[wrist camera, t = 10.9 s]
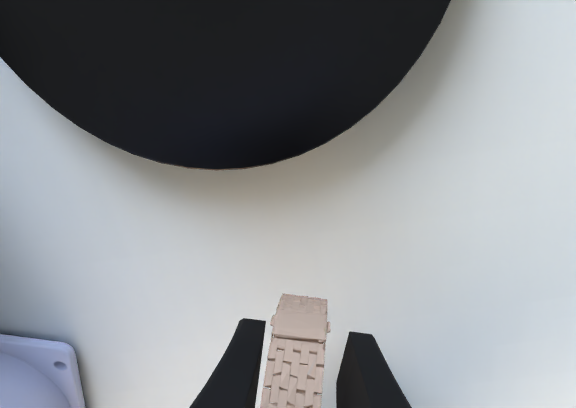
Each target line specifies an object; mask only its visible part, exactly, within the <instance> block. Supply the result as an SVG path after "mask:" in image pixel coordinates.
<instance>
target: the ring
mask: <svg viewBox="0 0 576 408" xmlns="http://www.w3.org/2000/svg"><path fill="white" fill-rule="evenodd" d="M314 299H315V300H314ZM270 325H271V326H273V329H272V336H271V343H270V346H269V352H268V360H269V361H267V364H266V371H265V378H264V384H263V386H265V387H269V388H271V389H267V388H263V390H262V398H261V405H260V408H309V407H310V408H321V398H322V395H317V393H319V394H322V386H323V374H324V359H325V342H326V333H328V332H330V322H327V300H326V299H321V298H316V297H315V298H314V297H308V296H296V295H290V294H283V295H282V296H281V298H280V301H279V304H278V307H277V310H276V315H273V316H272V319H271V322H270ZM273 334H274V338H273ZM323 343H324V345H323ZM277 349H279V350H282V351H277ZM273 374H276V375H273ZM270 402H273V403H270Z"/></svg>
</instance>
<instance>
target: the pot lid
mask: <svg viewBox="0 0 576 408" xmlns="http://www.w3.org/2000/svg"><path fill="white" fill-rule="evenodd" d="M450 1H451V0H0V57H1V58H2V59H3V60H4V61H5V63H6V64H7V65H8V66H9V67H10V68H11V69H12V70H13V71H14V72H15V73H16V74H17V75H18V76H19V77H20V79H21V80H22V81H23V82H24V83H25V84H26V85H27V86H28V87H29V88H31V89H32V90H33V91H34V92H35V93H36V94H37V95H39V96H40V97H41V98H42V99H43V100H44V101H45V102H47V103H48V104H49V105H50V106H51V107H52V108H54V109H55V110H56V111H58V112H59V113H61V114H62V115H63V116H65V117H66V118H67V119H69V120H70V121H72V122H73V123H74V124H76V125H77V126H79V127H80V128H82V129H84V130H86V131H87V132H89V133H91V134H92V135H94V136H96V137H98V138H99V139H101V140H103V141H105V142H107V143H109V144H111V145H113V146H116V147H118V148H120V149H122V150H125V151H127V152H129V153H131V154H134V155H137V156H140V157H143V158H147V159H150V160H153V161H156V162H159V163H164V164H169V165H174V166H179V167H184V168H191V169H205V170H232V169H246V168H252V167H258V166H263V165H269V164H273V163H277V162H280V161H283V160H286V159H289V158H293V157H296V156H299V155H301V154H303V153H305V152H308V151H310V150H312V149H314V148H316V147H319V146H321V145H323V144H325V143H327V142H328V141H330V140H332V139H333V138H335V137H336V136H338V135H340V134H341V133H343V132H345V131H346V130H348V129H349V128H351V127H352V126H353V125H355V124H356V123H357V122H358V121H360V120H361V119H362V118H363V117H365V116H366V115H367V114H368V113H370V112H371V111H372V110H373V109H375V108H376V107H377V106H378V105H379V104H380V103H381V102H382V101H383V100H384V99H385V98H386V97H387V96H388V94H389V93H390V92H391V91H392V90H393V89H394V88H395V87H396V86H397V85H398V84H399V83H400V82H401V80H402V79H403V78H404V77H405V75H406V74H407V73H408V71H409V70H410V69H411V68H412V66H413V65H414V64H415V62H416V61H417V60H418V58H419V57H420V56H421V54H422V53H423V51H424V49H425V48H426V46H427V44H428V43H429V41H430V39H431V38H432V36H433V34H434V33H435V31H436V29H437V28H438V26H439V25H440V23H441V21H442V18H443V16H444V14H445V12H446V10H447V8H448V6H449V3H450Z"/></svg>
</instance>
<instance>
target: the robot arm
mask: <svg viewBox="0 0 576 408" xmlns="http://www.w3.org/2000/svg"><path fill="white" fill-rule="evenodd" d="M265 324H266V321H261V320H253V319H245V318H243V319H242V320H240V321H239V323H238V326H237V329H236V331H235V333H234V336H233V338H232V340H231V342H230V344H229V346H228V348H227V349H226V351H225V353H224V355H223V357H222V358H221V360H220V362H219V363H218V365H217V367H216V368H215V370H214V372H213V373H212V375H211V377H210V378H209V380H208V381H207V383H206V384H205V386H204V387H203V389H202V390H201V392H200V393H199V395H198V396H197V398H196V399H195V400H194V402H193V403H192V405H191V406H190V408H255V402H256V394H257V387H258V379H259V372H260V364H261V356H262V348H263V340H264V332H265ZM336 403H337V408H412V407H411V406H410V404H409V402H408V401H407V399H406V397H405V395H404V394H403V392H402V390H401V389H400V387H399V385H398V383H397V381H396V380H395V378H394V376H393V374H392V372H391V370H390V368H389V366H388V364H387V362H386V361H385V359H384V357H383V355H382V353H381V350H380V348H379V346H378V344H377V342H376V340H375V338H374V337H373V336H372V334H365V333H357V332H349V335H348V339H347V343H346V347H345V351H344V355H343V359H342V362H341V366H340V370H339V374H338V378H337V382H336ZM0 408H85V402H84V397H83V392H82V386H81V381H80V375H79V370H78V365H77V359H76V354H75V351H74V349H73V347H72V346H71V345H69V344H67V343H64V342H58V341H51V340H43V339H35V338H27V337H20V336H12V335H4V334H0Z"/></svg>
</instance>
